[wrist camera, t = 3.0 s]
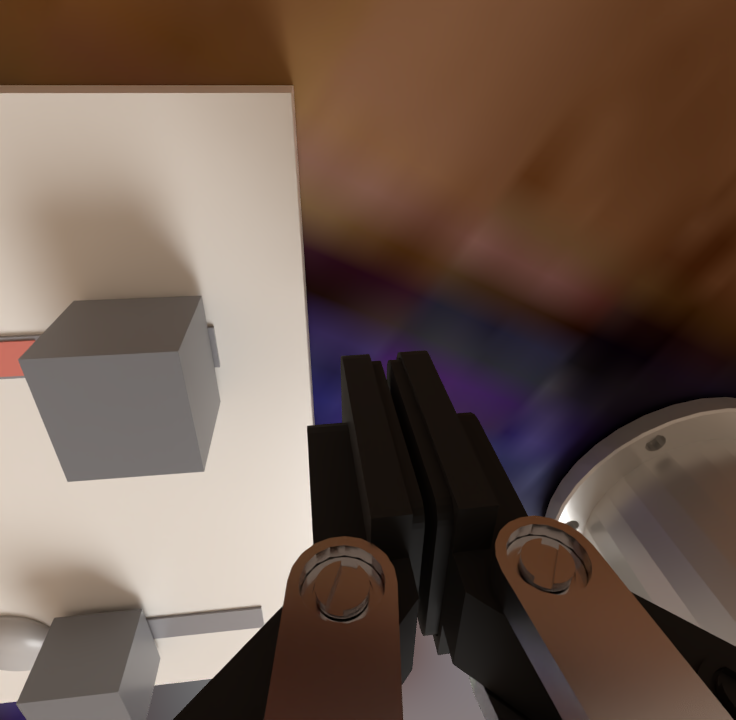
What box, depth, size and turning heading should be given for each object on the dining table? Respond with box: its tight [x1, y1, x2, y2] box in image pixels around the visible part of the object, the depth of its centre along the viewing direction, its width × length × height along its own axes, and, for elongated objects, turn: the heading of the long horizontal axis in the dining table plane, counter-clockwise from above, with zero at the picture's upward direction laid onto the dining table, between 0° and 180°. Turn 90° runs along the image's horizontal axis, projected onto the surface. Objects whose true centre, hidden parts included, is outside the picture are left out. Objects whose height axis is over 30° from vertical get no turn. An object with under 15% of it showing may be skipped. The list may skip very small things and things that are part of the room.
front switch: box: [18, 296, 221, 482], centre depth 12 cm, size 3×3×3 cm
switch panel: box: [0, 85, 315, 703], centre depth 17 cm, size 14×22×4 cm, turn 0°
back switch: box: [16, 609, 161, 720], centre depth 18 cm, size 3×3×3 cm
